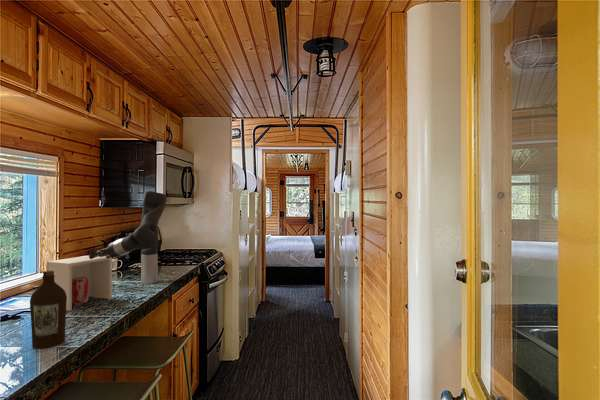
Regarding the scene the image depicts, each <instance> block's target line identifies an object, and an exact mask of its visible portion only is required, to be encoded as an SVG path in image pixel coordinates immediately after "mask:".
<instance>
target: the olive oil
mask: <svg viewBox="0 0 600 400" xmlns="http://www.w3.org/2000/svg"><path fill="white" fill-rule="evenodd" d="M42 274H43V275H42V283H41V284H40V285H39V286H38V288H36V290H35V291H33V293H32V295H31V296H30V300H29V311H30V324H31V325H30V326H31V344H32V345H31V346H32V347H33V348H34V349H48V348H52V347H56V346H60V345H61V344H63V343H64V342H65V340H66V318H67V317H66V316H67V315H66V314H67V310H66V303H67V296H66V293H65V291H64V289H63V288H61V287H60V286H59V285H58V284H56V283H55V281H54V271H47V270H46V271H45V270H44V271H43V272H42Z"/></svg>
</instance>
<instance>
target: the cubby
mask: <svg viewBox="0 0 600 400" xmlns="http://www.w3.org/2000/svg"><path fill="white" fill-rule="evenodd" d="M89 255H90V254H88V255H81V256H75V257H70V258H62V259H56V260H49V261H46V271H54V281H55V283H56V284H58V285H59V286H60V287H61V288H63V289H64V291H65V293H66V296H67V303H66V312H67V311H68V312H69V311H70V312H71V311H72V308H73V307H72V304H73V303H72V281H73V278H76V277H87V280H88V285H89V297H93V298H99V299H106V300H112V299H113V290H112V289H113V272H112V271H113V262H112V261H113V260H112V259H113V257H111V258H109V259H106V256H104V257H95V258H93V259H89ZM89 297H88V298H89Z"/></svg>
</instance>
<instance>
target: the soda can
mask: <svg viewBox="0 0 600 400" xmlns="http://www.w3.org/2000/svg"><path fill="white" fill-rule="evenodd" d="M88 301H89V285H88V280H87V277H76V278H73V281H72V304H74V305H81V304H85V303H87V302H88Z"/></svg>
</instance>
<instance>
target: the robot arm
mask: <svg viewBox="0 0 600 400" xmlns="http://www.w3.org/2000/svg"><path fill="white" fill-rule="evenodd" d="M167 198H168V197H167V195H166V194H165V193H161V192H157V191H153V190H152V191H151V190H149V191H146V192H145V193H144V195H143V199H142V213H141V218H140V225H139V226H138V227H137V228H136V229H135V230H134V232H133V234H130V235H127V236H125V237H121V238H119V239H116V240H114V241H112V242H110V243H109V244H108V245H107V247H104V248H101V247H99V248H96V249H94V250H91V251H90V254H88V255H89V259H93V258H95V257H104V256H106V259H109V258H111V257H112V258H114V259H116V258H120V257H123V256H125V255H127V254H129V253H131V252H134V251H136V250H140V266H141V267H140V280H141V281H140V283H141V284H142V285H151V284H152V285H153V284H157V283H158V282H159V280H158V275H159V273H158V272H159V271H158V269H159V266H158V264H159V262H158V253H159V252H158V242H159V229H158V224H159V222H160V219H161V217H162V215H163V213H164V211H165V208H166V207H167V206H166V205H167V201H168V199H167Z"/></svg>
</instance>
